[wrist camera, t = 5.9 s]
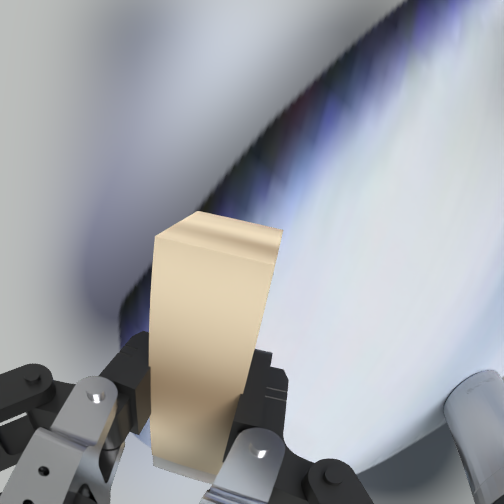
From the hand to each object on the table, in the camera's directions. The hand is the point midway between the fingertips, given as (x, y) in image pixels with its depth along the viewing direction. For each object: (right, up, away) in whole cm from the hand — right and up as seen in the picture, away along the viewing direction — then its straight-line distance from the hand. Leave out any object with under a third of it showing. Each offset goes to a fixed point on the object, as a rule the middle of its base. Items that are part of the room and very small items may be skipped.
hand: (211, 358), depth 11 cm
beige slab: (0, -2, +1) cm, 2 cm away
